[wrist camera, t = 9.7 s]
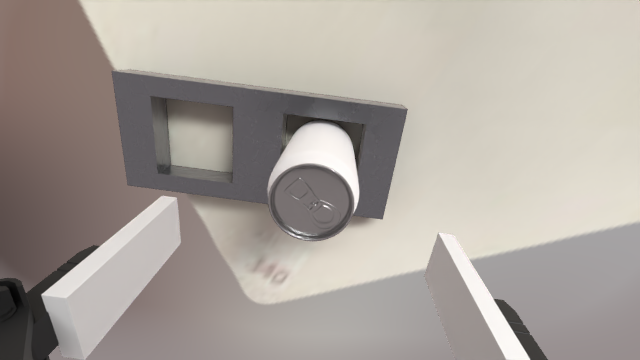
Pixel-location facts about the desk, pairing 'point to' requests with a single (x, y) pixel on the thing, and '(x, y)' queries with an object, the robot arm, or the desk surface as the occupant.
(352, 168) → the can
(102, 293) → the robot arm
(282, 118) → the holder
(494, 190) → the desk surface
